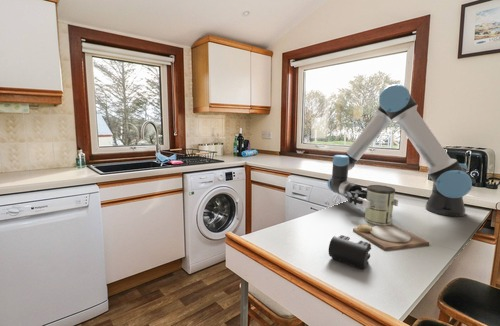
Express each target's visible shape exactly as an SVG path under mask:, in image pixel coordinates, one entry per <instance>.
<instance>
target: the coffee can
mask: <svg viewBox="0 0 500 326" xmlns="http://www.w3.org/2000/svg"><path fill="white" fill-rule="evenodd" d="M366 188H367V189H366V191H367V199H365V200H368V201H370V208H366V207H365V212H364V213H365V214H364V220H365V222H367V223H370V224H373V225H376V226H382V225H392V222H393V221H392V220H393V210H394V205H393V203H394V198H395V192H396V189H395V188H393V187H391V186H388V185H381V184H371V185H367V187H366Z"/></svg>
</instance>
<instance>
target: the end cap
mask: <svg viewBox="0 0 500 326" xmlns="http://www.w3.org/2000/svg"><path fill="white" fill-rule="evenodd" d="M350 240H351V238H350V236H346V235H343V234H342V235H341V234H340V235H339V236H338V237H337V236H332V238H331V239H330V241H329V246H328V255H329V257H331V258H332V259H333V260H336V261H339V262H342V263H345V264H347V265H350V266H352V267H356V268H359V269H361V270H365V269H366V268H367V267H368V266H369V264H370V263H369V262H370V261H369V260H370V257H371V253H369V252H370V251H371V250H372V247H371V246H372V245H371V242H367V241H363V240H358V242H354V241H350Z"/></svg>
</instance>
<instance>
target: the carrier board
mask: <svg viewBox="0 0 500 326" xmlns="http://www.w3.org/2000/svg"><path fill="white" fill-rule="evenodd" d="M352 229H353V230H352V231H353V232H354V233H356V234H358V235H359V236H361V237H362V238H364V239H365V240H367V241H368V242H369V243H372V244H373V245H375V246H377V247H378V248H380V249H381V250H383V251H390V250H399V249H406V248H407V249H408V248H413V247H414V248H416V247H422V246H423V247H424V246H429V245H430V241H428V240H427V239H424V238H422V237H420V236H418V235H416V234H413V233H412V232H409V231H408V230H405V229H403V228H401V227H399V226H397V225H394V224H390V225H373V226H370V225H368V224H358V225H357V227H354V228H352Z"/></svg>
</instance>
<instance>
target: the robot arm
mask: <svg viewBox="0 0 500 326" xmlns="http://www.w3.org/2000/svg"><path fill="white" fill-rule="evenodd" d="M378 98H379V99H378V103H379V106H378V108H377V109H376V114H375V115H374V116H373V117H372V118H371V120H370V121H369V122H368V124H367V125H366V126H365V127H364V128H363V130H362V131H361V133H360V134H359V135H358V136H357V138H356V139H355V141H353V143H352V144H350V147H349V148H348V150H346V152H345V153H344V154H335V155H333V158H332V174H331V177H330V178H329V179H328V181H327V188H328V189H329V190H330V191H332V192H333V193H336V194H338V195H340V196H342V197H344V198H345V199H347V201H348V203H349V204H352V203H353V205H355V206H357V205H360V206H362V207H364V208H365V209H366V208H370V201H368V200H366V199H367V190H365V189H362V187H361V186H360V185H359V184H356V183H353V182H351V181H348V176H349V175H348V174H349V171H351V170H352V169H353V168H355V165H356V163H358V161H359V160H360V159H361V158H362V156H364V154H365V153H366V152H367V150H368V149H369V148H370V147H371V145H372V144H373V143H374V141H376V140H377V138H378V137H379V136H380V135H381V133H382V132H383V131H384V130H385V128H387V126H388V125H389V124H390V122H396V123H397V124H398V125H399V127H400V128H401V130H402V131H403V132H404V134H405V136H406V137H407V138H408V140H409V142H410V143H411V145H412V146H413V148H414V149H415V151H416V152H417V153H418V154H419V156H420V157H421V160H423V162H424V164H426V166H427V168H428V170H427V175H428V176H429V178H430V179H431V180H432V182H433V183H432V190H431V194H430V195H429V198H428V200H427V202H426V203H425V209H426V210H427V211H429V212H431V213H434V214H437V215H441V216H449V217H464V216H465V215H466V208H465V203H464V199H463V198H464V196H467V194H468V193H470V191H472V187H473V181H472V178H471V176H470V175H469V174H468V173H467V172H468V166H467V164H465V163H459V161H458V159H456V158H452V157H450V156H449V154H448V153H447V152H446V150H445V149H444V147H443V146H442V144H441V143H440V141H439V140H438V139H437V137H436V136H435V134H434V133H433V132H432V130H431V129H430V128H429V126H428V125H427V123H426V122H425V121H424V119H423V118H422V116H421V115H420V114H419V112H418V110H417V109H418V107H419V105H418V104H417V102H416V100H415V99H414V98H413V96H412V94H411V93H410V91H409V89H408V88H407V87H406V86H404V85H403V84H398V83H397V84H390V85H388V86H386V87H385V88H384V89H383V90H382V91H381V92H380V94H379V97H378ZM398 204H399V199H397V198H395V197H394V203H393V207H394V206H395V207H398V206H399V205H398Z"/></svg>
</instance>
